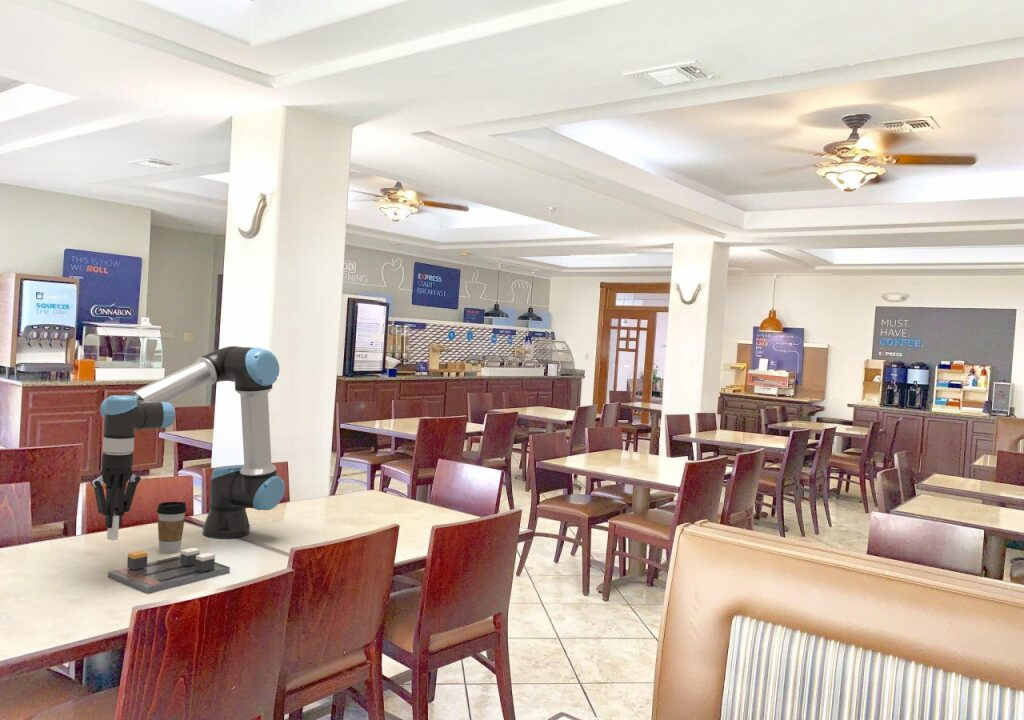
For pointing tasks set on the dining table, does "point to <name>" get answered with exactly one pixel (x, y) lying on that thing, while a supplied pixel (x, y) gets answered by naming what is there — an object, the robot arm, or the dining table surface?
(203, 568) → the block
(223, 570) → the panel
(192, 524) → the dining table surface
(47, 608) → the dining table surface
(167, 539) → the coffee cup
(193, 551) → the block
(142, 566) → the block
